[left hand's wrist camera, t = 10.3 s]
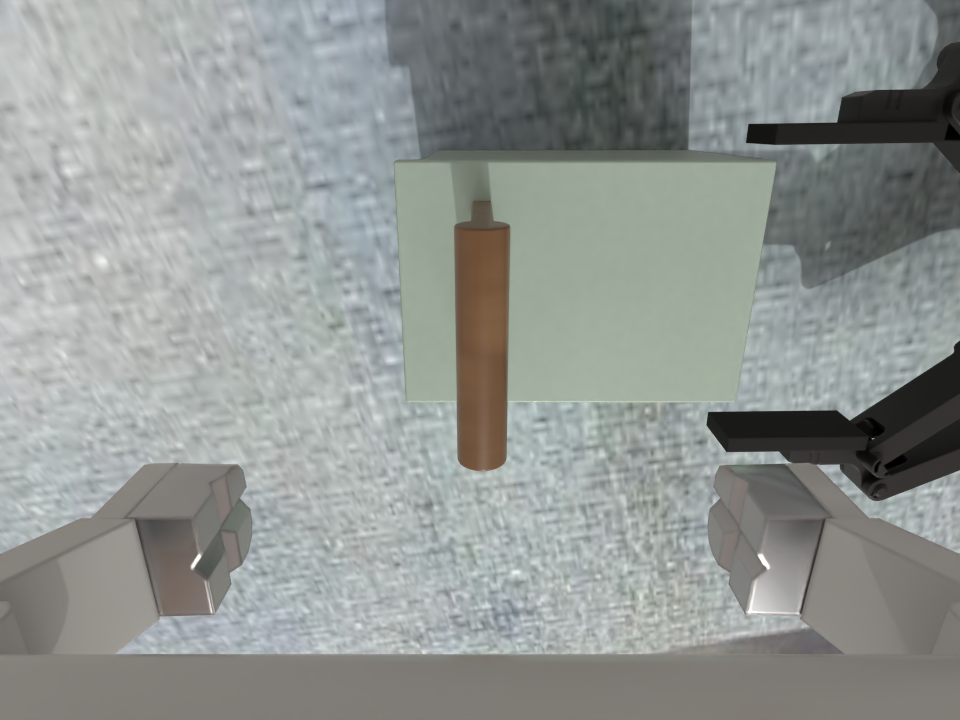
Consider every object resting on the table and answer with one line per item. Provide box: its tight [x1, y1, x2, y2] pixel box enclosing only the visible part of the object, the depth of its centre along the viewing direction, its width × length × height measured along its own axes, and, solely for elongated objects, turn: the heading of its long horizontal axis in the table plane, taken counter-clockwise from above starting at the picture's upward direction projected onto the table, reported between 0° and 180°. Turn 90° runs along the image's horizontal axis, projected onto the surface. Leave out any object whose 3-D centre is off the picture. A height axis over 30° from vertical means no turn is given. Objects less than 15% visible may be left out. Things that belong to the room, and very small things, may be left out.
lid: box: [394, 159, 777, 471], centre depth 20 cm, size 14×10×8 cm
